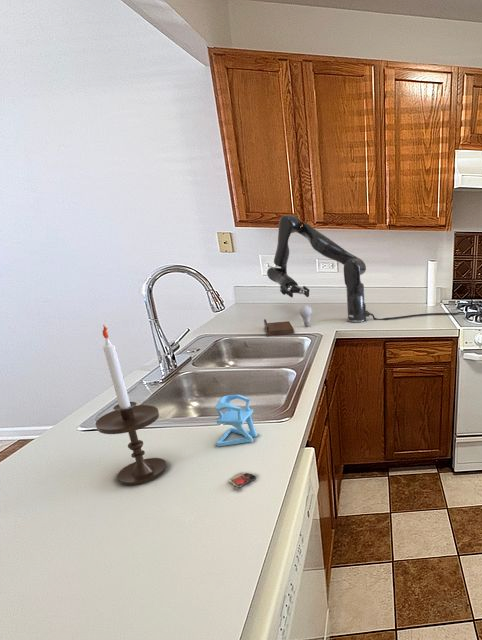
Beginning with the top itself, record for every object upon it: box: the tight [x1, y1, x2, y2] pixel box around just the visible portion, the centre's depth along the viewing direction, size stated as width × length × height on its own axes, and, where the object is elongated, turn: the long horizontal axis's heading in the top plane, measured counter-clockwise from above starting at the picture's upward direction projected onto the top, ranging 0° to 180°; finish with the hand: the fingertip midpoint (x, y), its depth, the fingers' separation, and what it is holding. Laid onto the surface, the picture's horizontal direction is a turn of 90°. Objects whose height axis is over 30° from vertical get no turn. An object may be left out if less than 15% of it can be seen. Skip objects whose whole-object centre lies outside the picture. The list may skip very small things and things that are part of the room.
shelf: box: [263, 318, 295, 337], centre depth 195 cm, size 12×15×4 cm
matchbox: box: [229, 472, 257, 490], centre depth 88 cm, size 5×5×1 cm
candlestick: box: [95, 324, 168, 487], centre depth 84 cm, size 11×11×35 cm
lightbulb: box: [299, 305, 313, 328], centre depth 202 cm, size 6×6×11 cm
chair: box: [214, 394, 258, 447], centre depth 102 cm, size 8×8×12 cm
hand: (300, 295), depth 207 cm, fingers open, 8 cm apart
